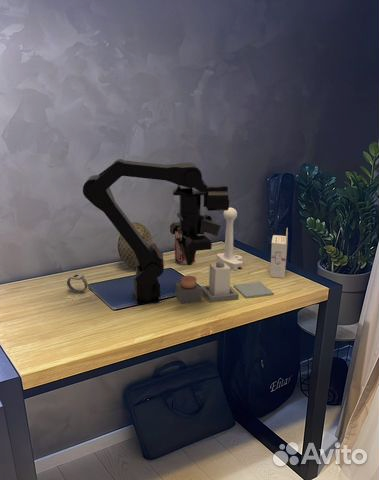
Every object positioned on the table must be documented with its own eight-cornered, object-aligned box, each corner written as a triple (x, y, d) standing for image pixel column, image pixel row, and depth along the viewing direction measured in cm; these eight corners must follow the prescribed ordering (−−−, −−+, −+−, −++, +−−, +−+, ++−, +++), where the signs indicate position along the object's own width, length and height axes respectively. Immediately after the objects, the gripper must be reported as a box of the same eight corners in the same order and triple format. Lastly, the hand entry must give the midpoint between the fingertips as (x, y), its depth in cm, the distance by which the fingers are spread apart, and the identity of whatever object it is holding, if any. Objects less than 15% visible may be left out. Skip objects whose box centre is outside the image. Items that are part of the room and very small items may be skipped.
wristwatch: (89, 291, 144) (88, 275, 143) (84, 295, 142) (84, 278, 140) (70, 288, 146) (69, 272, 144) (65, 292, 144) (64, 276, 142)
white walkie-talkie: (270, 267, 165) (273, 225, 161) (285, 269, 164) (288, 227, 160) (268, 277, 157) (272, 233, 153) (284, 278, 156) (288, 234, 152)
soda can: (195, 266, 166) (195, 232, 162) (174, 265, 166) (174, 231, 162) (195, 258, 172) (195, 226, 169) (175, 258, 173) (175, 225, 169)
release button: (183, 297, 137) (183, 282, 136) (178, 291, 141) (178, 276, 140) (198, 295, 139) (198, 280, 137) (193, 289, 143) (193, 274, 141)
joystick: (213, 260, 171) (215, 204, 165) (231, 257, 175) (234, 202, 169) (231, 270, 162) (234, 212, 156) (250, 267, 166) (253, 209, 159)
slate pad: (245, 298, 141) (245, 296, 141) (233, 286, 149) (233, 284, 149) (273, 294, 144) (273, 293, 144) (260, 283, 152) (260, 281, 152)
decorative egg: (124, 274, 157) (123, 229, 153) (114, 262, 168) (112, 220, 163) (158, 269, 162) (158, 226, 157) (146, 258, 172) (146, 217, 168)
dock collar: (210, 302, 138) (210, 297, 138) (200, 290, 146) (200, 286, 145) (238, 299, 141) (238, 294, 140) (226, 287, 148) (227, 283, 148)
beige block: (214, 299, 141) (215, 267, 138) (208, 292, 145) (209, 261, 142) (229, 297, 142) (230, 265, 139) (223, 291, 146) (224, 260, 143)
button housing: (181, 304, 137) (181, 291, 136) (175, 295, 142) (175, 283, 141) (201, 301, 139) (201, 288, 137) (194, 293, 144) (194, 280, 143)
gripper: (231, 217, 126) (229, 273, 131) (205, 201, 143) (205, 251, 148) (190, 220, 123) (189, 278, 128) (169, 203, 140) (169, 255, 145)
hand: (189, 264), depth 137 cm, fingers closed
